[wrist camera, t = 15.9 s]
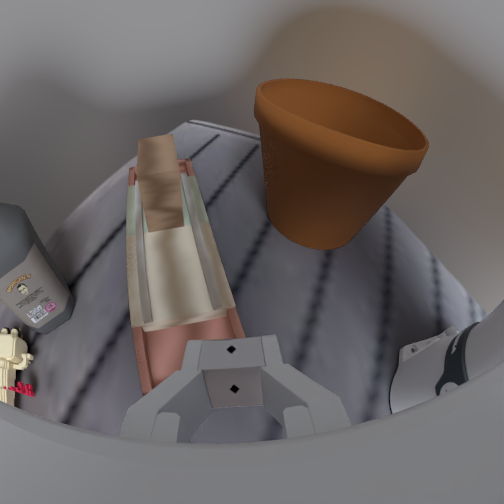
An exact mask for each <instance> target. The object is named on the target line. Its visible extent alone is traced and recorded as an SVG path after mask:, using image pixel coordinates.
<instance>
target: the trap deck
mask: <svg viewBox="0 0 504 504" xmlns="http://www.w3.org/2000/svg"><path fill="white" fill-rule="evenodd" d="M178 164H179V168H180V181H181V194H182V206H183V217H184V227H178V228H172V229H167V230H161V231H156V232H150V233H149V232H148V228H147V223H146V219H145V214H144V210H143V205H142V200H141V195H140V190H139V185H138V180H137V167H132V168H129V182H128V190H127V216H126V253H127V279H128V295H129V307H130V318H131V326H132V328H133V336H134V344H135V351H136V358H137V364H138V370H139V376H140V381H141V386H142V391H143V396H145V395H146V394H147V393H149V392H150V391H151V390H153V389H154V388H155V387H156V386H158V385H159V384H160V383H161V382H163V381H164V380H165V379H167V378H168V377H169V376H170V375H172V374H173V373H174V372H175V371H181V366H182V362H183V357H184V353H185V349H186V345H187V342H188V341H189V340H210V339H237V338H246V337H245V334H244V331H243V328H242V325H241V322H240V319H239V316H238V313H237V310H236V305H235V302H234V299H233V296H232V293H231V290H230V287H229V284H228V281H227V278H226V275H225V271H224V268H223V265H222V262H221V259H220V256H219V253H218V249H217V246H216V243H215V240H214V237H213V233H212V230H211V227H210V224H209V220H208V217H207V214H206V210H205V207H204V204H203V200H202V197H201V193H200V190H199V187H198V183H197V180H196V176H195V174H194V171H193V167H192V164H191V160H190V158H188V159H181V160H178Z"/></svg>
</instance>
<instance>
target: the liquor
mask: <svg viewBox="0 0 504 504" xmlns="http://www.w3.org/2000/svg"><path fill="white" fill-rule="evenodd" d="M0 299H1V300H2V301H3V303H4V304H5V305H6V306H7V307H8V308H9V309H10V310H11V311H12V312H13V313H14V314H15V315H17V316H18V317H19V318H20V319H21V320H22V321H23V322H24V323H25V324H26V325H27V326H28V327H29V328H31V329H32V330H33V331H36V332H39V333H42V334H48V333H50V332H51V331H53V330H54V329H56V328H57V327H58V326H60V325H61V324H63V323H64V322H66V321H67V320H69V319H70V316H71V313H72V310H73V307H74V302H75V301H74V299H73V297H72V295H71V293H70V290H69V288H68V286H67V283H66V281H65V279H64V277H63V276H62V274H61V273H60V271H59V270H58V268H57V267H56V265H55V263H54V262H53V260H52V259H51V257H50V256H49V254H48V252H47V251H46V249H45V247H44V246H43V244H42V242H41V240H40V239H39V237H38V235H37V233H36V232H35V230H34V228H33V226H32V224H31V222H30V220H29V218H28V216H27V214H26V213H25V211H24V210H23V209H22V208H21V207H20V206H16V205H11V204H5V203H0Z"/></svg>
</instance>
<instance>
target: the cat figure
mask: <svg viewBox="0 0 504 504" xmlns="http://www.w3.org/2000/svg"><path fill="white" fill-rule="evenodd" d="M22 337H23V336H22V332H21V328H19V329H18V328H12V331H11V332H10V330H9V328H4V329H3V330H1V334H0V400H1V401H3V402H5V403H7V404H10V405H12V406H14V399H15V391H16V392H18V393H21V394H25V395H28V396H31V397H33V396H34V392H33V391H32V389H33V385H30V384H26V385H23V383H21V382H18V384H17V386H18V388H17V387H15V382H14V380H15V379H16V369H18V370H24V368H27V367H28V363H30V364H31V362H30V361H29V360H33V355H31V354H29V353H27V343H25V341H24V340H23V339H22ZM34 397H35V396H34Z"/></svg>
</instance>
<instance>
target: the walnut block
mask: <svg viewBox="0 0 504 504" xmlns="http://www.w3.org/2000/svg"><path fill="white" fill-rule="evenodd" d="M137 180H138V185H139V190H140V195H141V200H142V205H143V210H144V214H145V219H146V223H147V228H148V232H149V233H150V232H156V231H161V230H167V229H172V228H178V227H184V217H183V206H182V194H181V181H180V168H179V164H178V159H177V154H176V149H175V144H174V139H173V134H169V135H162V136H155V137H149V138H143V139H139V140H138V159H137Z"/></svg>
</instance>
